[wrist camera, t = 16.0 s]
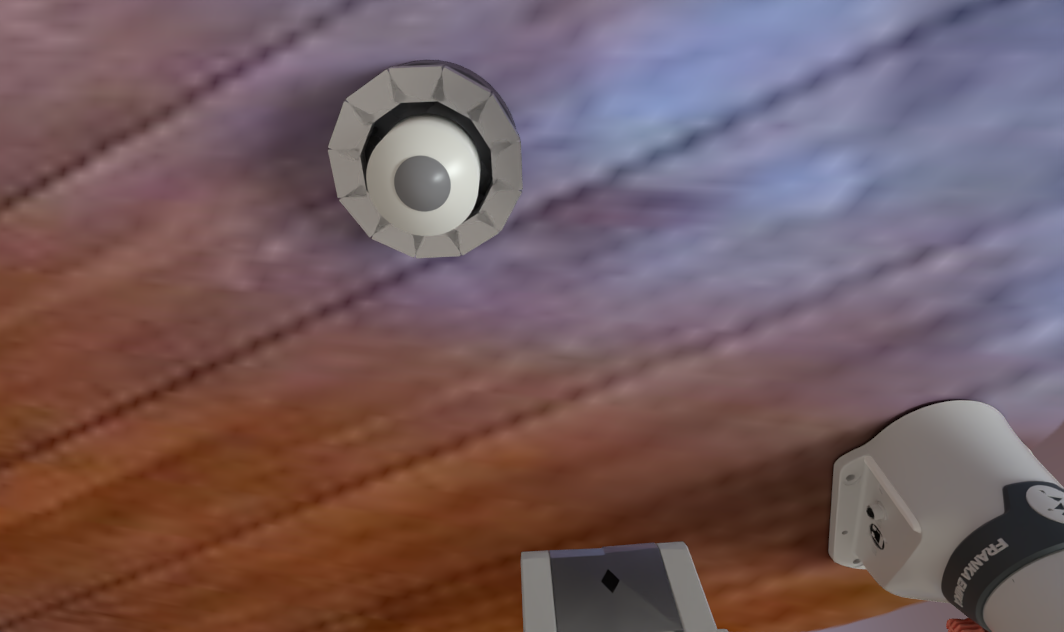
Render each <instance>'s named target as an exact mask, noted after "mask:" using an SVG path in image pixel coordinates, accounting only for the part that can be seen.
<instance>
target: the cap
mask: <svg viewBox="0 0 1064 632" xmlns="http://www.w3.org/2000/svg"><path fill="white" fill-rule="evenodd" d="M480 172H481V162H480V156H479V152H478V149H477V147H476V144H475V142H474V141H473V139H472V137H471V136H470V135H469V133H468V132H467V131H466V130H465V129H464V128H463V127H462V126H460V125H459V124H458V123H457V122H455V121H453V120H452V119H449V118H447V117H445V116H442V115H438V114H432V113H422V114H416V115H412V116H409V117H407V118H405V119H403V120H401V121H400V122H398V123H397V124H396V125H395V126H394V127H393V128H392V129H391V130H390V131H389V132H388V133H387V135H386V136H385V137H384V138H383V139H382V140H381V141H380V142H379V143H378V144H377V146H376V147H375V149H374V150H373V152H372V154H371V156H370V158H369V161H368V165H367V171H366V181H367V188H368V192H369V195H370V198H371V200H372V202H373V204H374V206H375V207H376V209H377V210H378V212H379V213H380V214H381V215H382V216H383V217H384V218H385V219H386V220H387V221H388V222H389V223H390V224H392V225H393V226H395V227H396V228H398V229H400V230H402V231H405V232H407V233H410V234H414V235H420V236H434V235H440V234H444V233H446V232H449V231H451V230H453V229H455V228H456V227H458V226H459V225H460V224H461V223H463V222H464V221H465V220H466V218H467V217H468V216H469V215H470V213H471V211H472V210H473V208H474V206H475V203H476V200H477V196H478V189H479V180H480Z"/></svg>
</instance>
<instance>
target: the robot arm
mask: <svg viewBox="0 0 1064 632" xmlns="http://www.w3.org/2000/svg"><path fill="white" fill-rule="evenodd" d="M828 552H829V555H830V557H831V558H832V559H833V561H834V562H836V563H838V564H841V565H843V566H847V567H851V568H858V569H867V570H868V572H869V573H870V574H871V576H872V577H873V578H874V579H875V581H876V582H877V583H878V584H879V585H880V586H881V587H883V588H884V589H885V590H887V591H889V592H890V593H893V594H895V595H898V596H901V597H906V598H912V599H921V600H929V601H937V602H945V603H951V604H952V605H954V606H955V607H956V608H957V609H959V610H960V611H961V612H962V613H964V614H965V615H966V616H967V617H969V618H967V619H964V620H963V619H949V620H948V621H947V626H946V627H947V629H949V630H948V632H1064V488H1063V487H1062V486H1061V485H1060V483H1059V482H1057V480H1056V479H1055V478H1054V477H1053V476H1052V475H1051V474H1050V473H1049V472H1048V471H1047V470H1046V468H1045V467H1044V466H1043V465H1042V464H1041V463H1040V462H1039V461H1038V460H1037V459H1036V458H1035V457H1034V455H1033V454H1032V452H1031V451H1030V450H1029V449H1028V448H1027V447H1026V446H1025V445H1024V443H1022V442H1021V440H1020V439H1019V438H1018V437H1017V435H1016V434H1015V433H1014V431H1013V430H1012V428H1011V427H1010V426H1009V424H1008V423H1007V421H1006V420H1005V418H1004V417H1003V415H1002V414H1001V413H1000V412H999V411H998V410H996V409H995V408H993V407H992V406H990V405H987V404H984V403H981V402H977V401H969V400H956V401H947V402H941V403H937V404H933V405H930V406H926V407H924V408H921V409H918V410H916V411H914V412H911V413H909V414H907V415H905V416H903V417H902V418H900V419H898V420H896V421H895V422H893V423H892V424H890V425H889V426H888V427H886V428H885V429H884V430H882V431H881V432H880V433H879V434H878V435H877V436H875V437H874V438H873V439H872V440H871V441H869V442H868V443H866V444H865V445H863V446H861V447H859V448H857V449H855V450H853V451H850V452H849V453H847V454H845V455H843V456H842V457H840V458H839V459H838V460H837V461H836V462H835V464H834V470H833V486H832V501H831V517H830V532H829V549H828ZM521 580H522V604H523V628H524V632H728V631H727V630H726V629H717V627H716V625H715V622H714V619H713V616H712V614H711V611H710V608H709V605H708V602H707V600H706V597H705V594H704V591H703V588H702V586H701V583H700V580H699V577H698V575H697V572H696V569H695V566H694V563H693V561H692V558H691V555H690V552H689V550H688V547H687V546H686V544H685V543H684V542H682V541H679V542H668V543H656V544H655V543H644V544H632V545H620V546H608V547H602V548H594V549H571V550H549V551H548V550H546V551H531V552H521Z"/></svg>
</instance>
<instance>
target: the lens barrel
mask: <svg viewBox="0 0 1064 632" xmlns="http://www.w3.org/2000/svg"><path fill="white" fill-rule="evenodd" d="M422 113H432V114H438V115H442V116H445V117H447V118H449V119H452V120H453V121H455V122H457V123H458V124H459V125H460V126H462V127H463V128H464V129H465V130H466V131H467V132H468V133H469V135H470V136H471V137H472V139H473V141H474V142H475V144H476V147H477V149H478V152H479V156H480V162H481V172H480V180H479V189H478V196H477V200H476V203H475V206H474V208H473V210H472V211H471V213H470V215H469V216H468V217H467V218H466V220H465V221H464V222H463V223H461V224H460V225H459V226H458V227H456V228H455V229H453V230H451V231H449V232H446V233H444V234H440V235H434V236H420V235H414V234H410V233H407V232H405V231H402V230H400V229H398V228H396V227H395V226H393V225H392V224H390V223H389V222H388V221H387V220H386V219H385V218H384V217H383V216H382V215H381V214H380V213H379V212H378V210H377V209H376V207H375V206H374V204H373V202H372V200H371V198H370V195H369V192H368V188H367V181H366V171H367V165H368V161H369V158H370V156H371V154H372V152H373V150H374V149H375V147H376V146H377V144H378V143H379V142H380V141H381V140H382V139H383V138H384V137H385V136H386V135H387V133H388V132H389V131H390V130H391V129H392V128H393V127H394V126H395V125H396V124H397V123H398V122H400V121H401V120H403V119H405V118H407V117H409V116H412V115H416V114H422ZM328 148H329V149H328V153H329V158H330V163H331V168H332V173H333V178H334V182H335V187H336V192H337V197H338V198H340V199H339V201H340V202H341V203H342V205H343V206H344V207H345V208H346V209H347V211H348V212H349V213H350V214H351V215H352V217H353V218H354V219H355V220H356V221H357V223H358V224H359V225H360V226H361V227H362V229H363V230H364V231H365V232H366V234H367V235H368V236H369V237H371V236H372V235H373V236H372V239H373V240H375V241H378V242H380V243H382V244H384V245H387V246H389V247H391V248H393V249H396V250H398V251H400V252H402V253H404V254H407V255H409V256H411V257H413V258H414V257H415V254H416V258H431V257H451V256H461V254H462V255H464V254H466V253H467V252H469V251H471V250H472V249H474V248H476V247H477V246H479V245H480V244H482V243H484V242H485V241H487V240H489V239H490V238H492V237H493V236H495V235H497V234H498V233H500V231H501V230H502V228H503V227H504V225H505V223H506V221H507V219H508V217H509V215H510V213H511V212H512V210H513V208H514V206H515V204H516V202H517V200H518V198H519V197H520V195H521V193H522V190H523V188H522V163H521V141H520V137H519V134H518V132H517V131H516V127H515V123H514V121H513V118H512V115H511V113H510V111H509V109H508V107H507V106H506V104H505V102H504V101H503V99H502V98H501V96H500V95H499V94H498V93H497V92H496V90H495V89H494V88H493V87H492V86H491V85H490V84H489V83H488V82H486V81H485V80H484V79H483V78H482V77H480V76H479V75H477V74H476V73H474V72H472V71H471V70H469V69H466V68H464V67H462V66H460V65H457V64H454V63H451V62H446V61H440V60H420V61H413V62H409V63H405V64H402V65H400V66H392V67H390V68H388V69H386V70H385V71H383V72H382V73H380V74H379V75H378V76H376V77H375V78H374V79H372V80H371V81H370V82H368V83H367V84H365V85H364V86H363V87H361V88H360V89H359V90H357V91H356V92H354V93H353V94H352V95H350V96H349V97H348V98H346V100H345V101H344V103H343V106H342V109H341V112H340V114H339V117H338V120H337V123H336V126H335V129H334V131H333V134H332V137H331V140H330V143H329V146H328Z"/></svg>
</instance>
